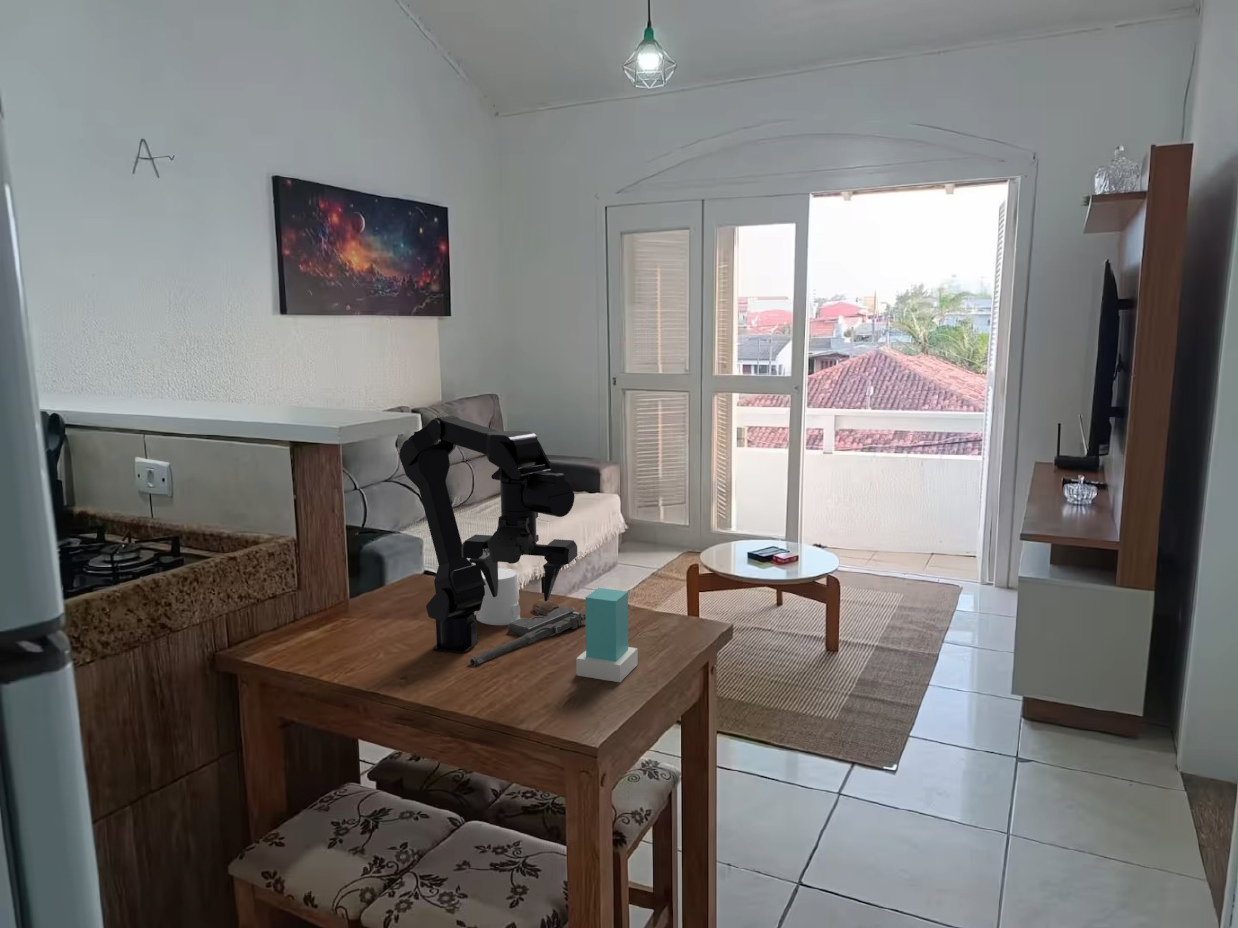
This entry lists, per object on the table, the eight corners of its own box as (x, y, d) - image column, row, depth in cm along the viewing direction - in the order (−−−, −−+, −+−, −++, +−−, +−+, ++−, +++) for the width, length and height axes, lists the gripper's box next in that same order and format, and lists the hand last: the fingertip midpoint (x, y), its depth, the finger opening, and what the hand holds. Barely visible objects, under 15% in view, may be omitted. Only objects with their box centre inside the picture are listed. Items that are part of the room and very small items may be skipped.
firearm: (544, 610, 184) (597, 622, 174) (427, 656, 161) (480, 674, 152) (543, 595, 183) (595, 606, 173) (425, 639, 161) (478, 656, 151)
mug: (528, 571, 175) (503, 582, 168) (529, 616, 177) (504, 628, 170) (481, 563, 181) (455, 573, 175) (483, 606, 183) (457, 618, 176)
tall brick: (586, 656, 148) (585, 597, 146) (599, 645, 153) (598, 587, 151) (616, 661, 146) (615, 601, 144) (628, 649, 151) (628, 591, 149)
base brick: (576, 675, 148) (576, 658, 147) (595, 658, 155) (595, 642, 155) (620, 682, 145) (620, 665, 144) (637, 664, 152) (637, 648, 152)
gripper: (445, 516, 139) (449, 609, 142) (556, 522, 135) (558, 618, 137) (473, 501, 150) (476, 589, 153) (577, 506, 145) (578, 596, 148)
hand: (520, 598), depth 147 cm, fingers open, 9 cm apart
